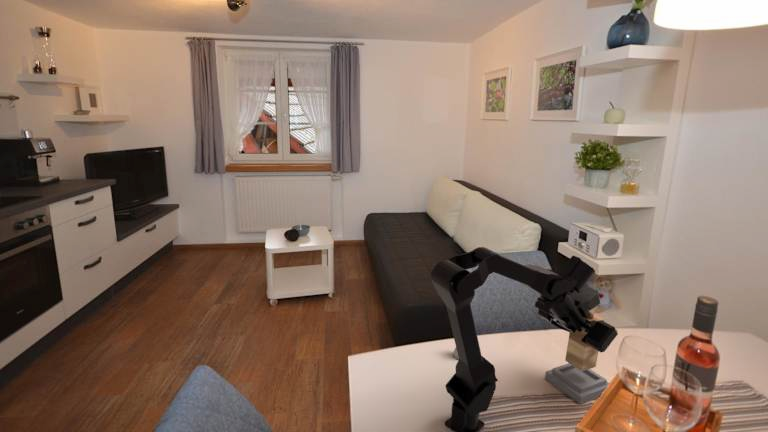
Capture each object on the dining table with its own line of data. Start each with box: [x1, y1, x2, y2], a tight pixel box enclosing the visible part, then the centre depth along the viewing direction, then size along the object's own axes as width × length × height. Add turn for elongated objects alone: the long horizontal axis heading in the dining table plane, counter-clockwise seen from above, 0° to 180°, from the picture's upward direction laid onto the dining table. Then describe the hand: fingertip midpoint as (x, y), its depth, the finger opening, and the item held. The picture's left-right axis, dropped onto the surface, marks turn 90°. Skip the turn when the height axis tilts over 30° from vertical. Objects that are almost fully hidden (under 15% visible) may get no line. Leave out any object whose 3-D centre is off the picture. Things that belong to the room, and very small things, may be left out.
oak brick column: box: [564, 310, 605, 371], centre depth 105 cm, size 5×5×14 cm
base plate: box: [544, 362, 611, 405], centre depth 108 cm, size 11×11×3 cm
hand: (588, 338), depth 105 cm, fingers closed on oak brick column, 5 cm apart
